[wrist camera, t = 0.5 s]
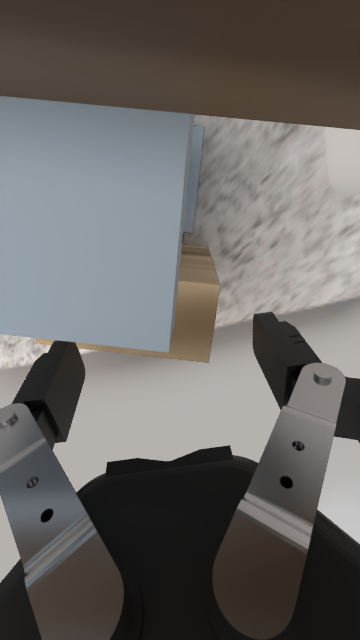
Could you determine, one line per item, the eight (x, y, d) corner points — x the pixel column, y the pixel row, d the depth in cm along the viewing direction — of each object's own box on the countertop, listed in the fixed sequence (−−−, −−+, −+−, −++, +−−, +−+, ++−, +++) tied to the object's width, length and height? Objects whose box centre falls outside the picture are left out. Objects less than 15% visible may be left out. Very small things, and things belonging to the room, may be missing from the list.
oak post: (120, 237, 36) (29, 265, 17) (207, 246, 36) (220, 285, 16) (119, 276, 38) (36, 343, 18) (202, 285, 38) (209, 362, 18)
